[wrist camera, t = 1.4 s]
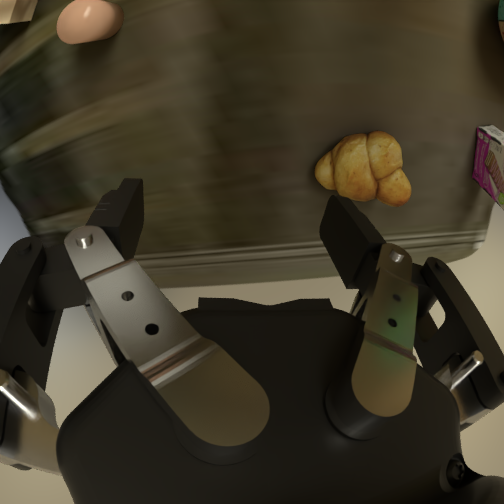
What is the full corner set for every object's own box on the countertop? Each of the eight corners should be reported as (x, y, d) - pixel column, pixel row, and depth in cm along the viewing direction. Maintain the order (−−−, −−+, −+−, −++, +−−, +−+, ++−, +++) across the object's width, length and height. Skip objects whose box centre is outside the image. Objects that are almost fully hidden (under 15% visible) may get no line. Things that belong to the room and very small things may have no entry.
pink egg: (93, 0, 18) (66, -3, 13) (130, 5, 20) (109, -1, 15) (80, 37, 21) (51, 42, 16) (115, 42, 23) (91, 46, 18)
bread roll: (310, 189, 40) (327, 223, 34) (309, 126, 33) (331, 151, 28) (387, 182, 40) (412, 212, 34) (395, 124, 33) (427, 148, 28)
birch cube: (17, -11, 12) (-5, -11, 8) (43, -14, 13) (22, -15, 10) (6, 21, 15) (-16, 25, 11) (31, 20, 16) (9, 23, 13)
